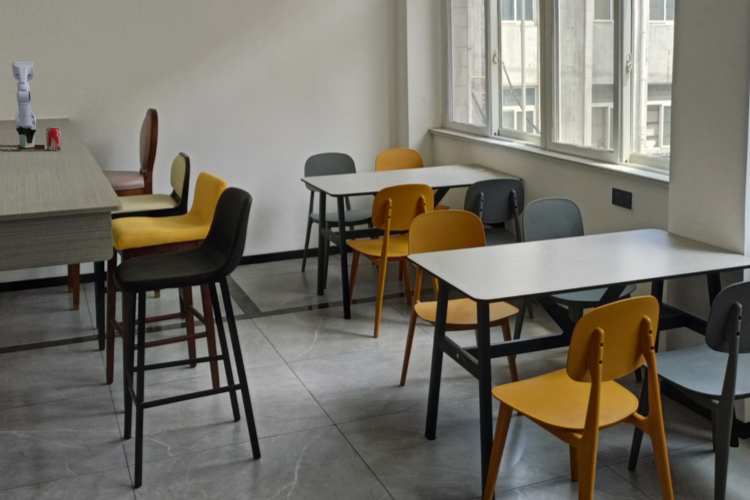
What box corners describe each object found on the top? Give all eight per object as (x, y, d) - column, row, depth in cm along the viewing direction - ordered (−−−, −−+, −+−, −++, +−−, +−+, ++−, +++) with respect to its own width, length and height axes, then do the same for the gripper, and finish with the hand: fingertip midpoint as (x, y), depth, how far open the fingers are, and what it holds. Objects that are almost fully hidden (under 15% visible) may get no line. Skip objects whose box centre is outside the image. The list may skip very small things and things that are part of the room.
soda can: (56, 151, 390) (55, 127, 387) (44, 150, 391) (42, 126, 388) (64, 150, 396) (63, 126, 393) (52, 149, 398) (51, 125, 395)
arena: (17, 149, 390) (16, 144, 390) (44, 149, 395) (44, 144, 395) (16, 151, 383) (16, 146, 383) (44, 151, 388) (44, 146, 388)
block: (19, 146, 387) (19, 134, 385) (29, 146, 391) (28, 134, 389) (25, 147, 384) (24, 135, 383) (34, 147, 388) (33, 135, 386)
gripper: (40, 116, 383) (42, 143, 386) (24, 114, 391) (26, 140, 394) (27, 116, 377) (28, 144, 380) (11, 114, 385) (13, 141, 389)
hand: (26, 142), depth 387 cm, fingers closed on block, 5 cm apart
